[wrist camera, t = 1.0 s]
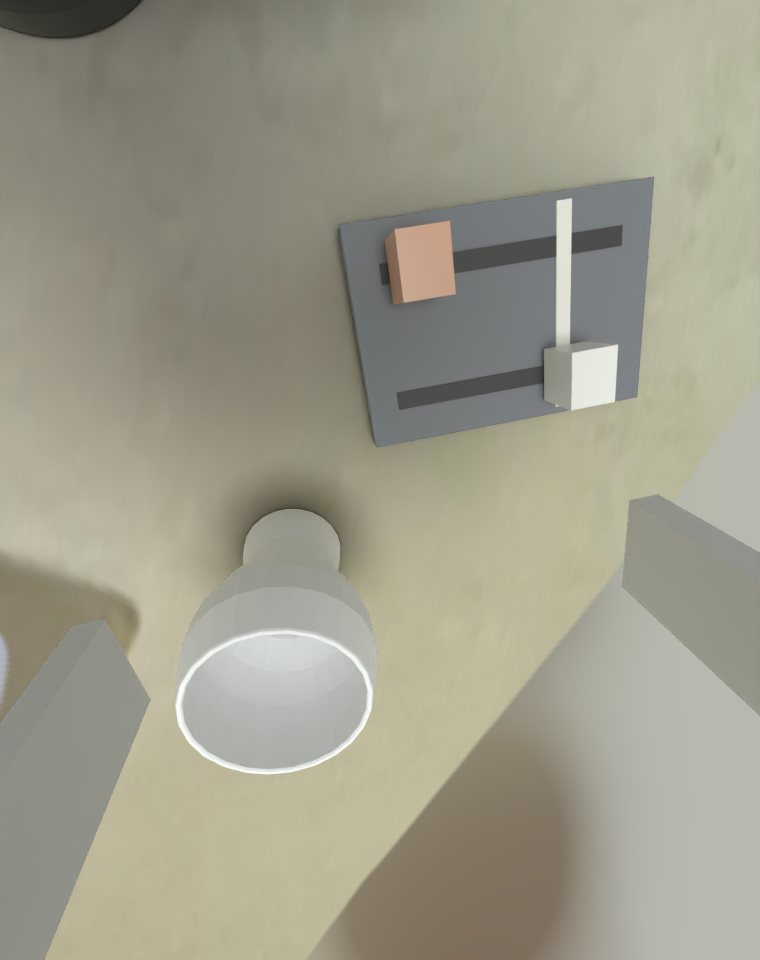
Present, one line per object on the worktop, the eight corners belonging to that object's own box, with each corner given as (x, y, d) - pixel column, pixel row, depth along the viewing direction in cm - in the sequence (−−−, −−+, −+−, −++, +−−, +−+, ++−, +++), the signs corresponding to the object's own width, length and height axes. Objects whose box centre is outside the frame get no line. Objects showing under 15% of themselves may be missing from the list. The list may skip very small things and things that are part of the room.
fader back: (543, 348, 29) (572, 353, 26) (585, 341, 29) (618, 344, 26) (544, 400, 31) (571, 410, 27) (583, 392, 31) (614, 401, 28)
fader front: (384, 240, 25) (394, 229, 22) (433, 232, 26) (449, 220, 22) (393, 304, 27) (403, 302, 24) (439, 296, 27) (455, 293, 24)
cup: (304, 465, 32) (295, 578, 18) (382, 558, 36) (423, 710, 22) (195, 542, 33) (109, 705, 19) (283, 625, 37) (263, 810, 23)
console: (337, 230, 27) (339, 224, 25) (632, 185, 28) (655, 176, 26) (373, 440, 32) (376, 448, 30) (619, 392, 34) (638, 397, 32)
